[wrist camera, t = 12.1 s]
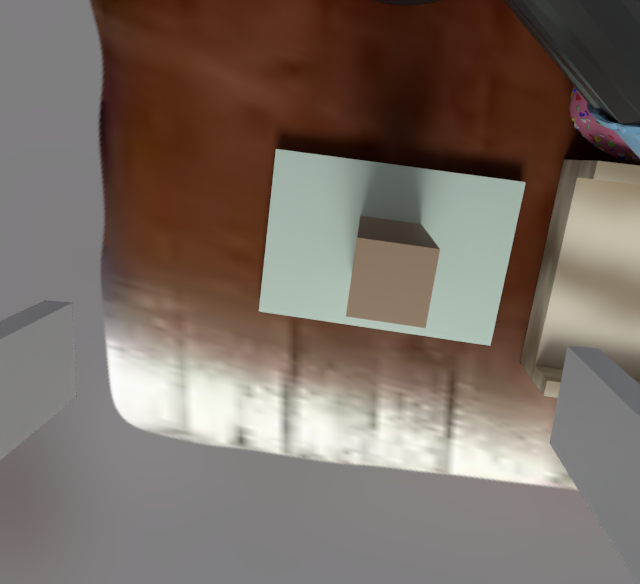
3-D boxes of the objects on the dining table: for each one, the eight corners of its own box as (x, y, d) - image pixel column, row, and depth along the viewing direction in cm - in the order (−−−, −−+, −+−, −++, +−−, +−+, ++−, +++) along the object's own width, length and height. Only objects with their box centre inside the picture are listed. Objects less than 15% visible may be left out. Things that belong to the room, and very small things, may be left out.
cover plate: (279, 149, 38) (241, 146, 26) (519, 181, 37) (584, 192, 26) (262, 305, 40) (222, 363, 29) (485, 338, 40) (531, 410, 28)
